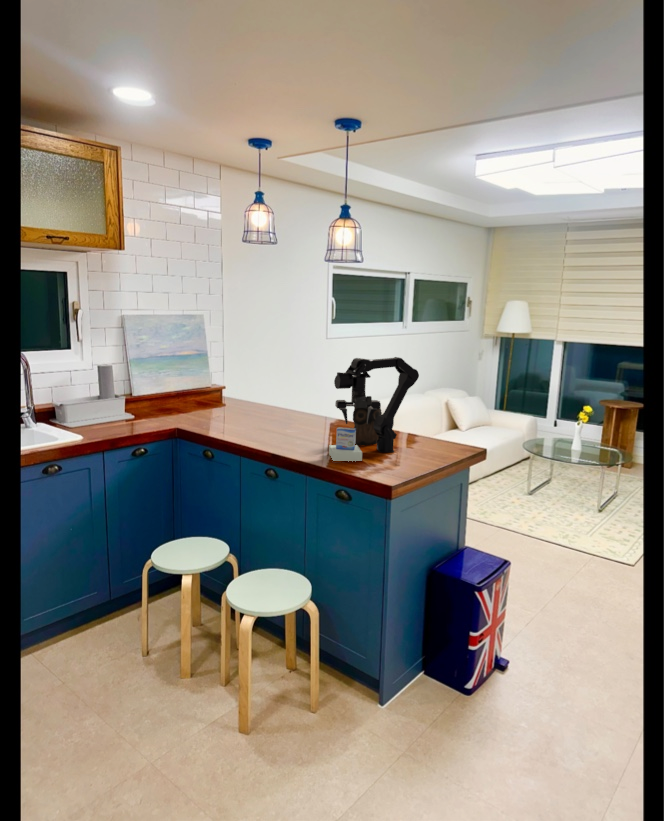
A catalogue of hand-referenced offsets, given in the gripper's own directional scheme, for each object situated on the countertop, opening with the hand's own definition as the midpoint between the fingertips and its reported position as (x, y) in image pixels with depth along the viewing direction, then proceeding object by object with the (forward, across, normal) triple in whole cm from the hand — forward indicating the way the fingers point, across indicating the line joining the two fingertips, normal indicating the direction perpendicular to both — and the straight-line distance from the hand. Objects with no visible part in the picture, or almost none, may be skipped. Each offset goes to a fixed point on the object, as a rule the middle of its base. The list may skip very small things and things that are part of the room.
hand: (357, 424), depth 242 cm
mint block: (+13, -6, -7) cm, 16 cm away
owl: (+13, +8, +20) cm, 25 cm away
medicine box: (+9, -6, -7) cm, 13 cm away
